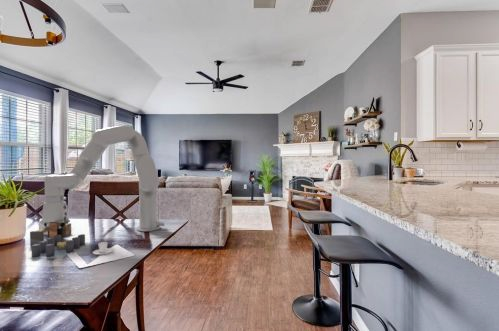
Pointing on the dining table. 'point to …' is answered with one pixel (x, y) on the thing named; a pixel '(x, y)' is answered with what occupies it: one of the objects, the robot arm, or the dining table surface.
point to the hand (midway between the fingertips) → (55, 235)
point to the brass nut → (61, 245)
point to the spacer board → (50, 247)
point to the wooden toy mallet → (52, 228)
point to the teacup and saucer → (102, 255)
